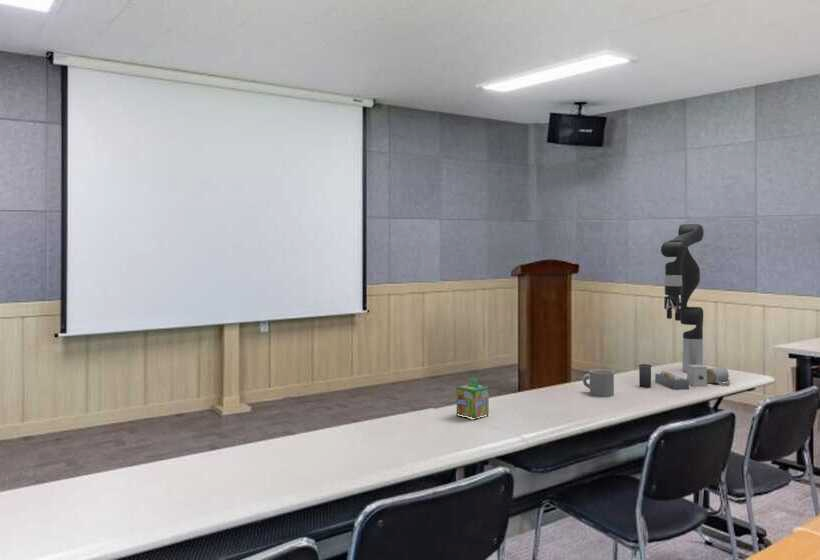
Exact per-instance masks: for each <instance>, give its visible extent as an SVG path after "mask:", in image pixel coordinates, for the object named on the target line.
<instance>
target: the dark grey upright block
mask: <svg viewBox="0 0 820 560" xmlns="http://www.w3.org/2000/svg"><path fill="white" fill-rule="evenodd" d="M638 368H639V370H638V374H639V375H638V378H639V380H638V381H639V385H638V386H639V388H641V387H643V388H642V389H651V388H652V365H651V364H645V363H643V364H642V363H641V364H638Z"/></svg>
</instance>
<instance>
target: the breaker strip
mask: <svg viewBox="0 0 820 560" xmlns="http://www.w3.org/2000/svg"><path fill="white" fill-rule="evenodd" d="M654 374H655V377H654V382H655V383H657V384H659V385H661V386H664V387H666V388H668V389H672V390H673V389H674V390H676V391H677V390H689V389H690V388H689V387H690V385H689V380H687V378H685V377H684V378H683V377H681V376H680V375H677V374H674V373H671V372H668V371H666V370H660V373H654Z"/></svg>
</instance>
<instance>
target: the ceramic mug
mask: <svg viewBox="0 0 820 560" xmlns="http://www.w3.org/2000/svg"><path fill="white" fill-rule="evenodd" d="M729 377H730V375H729V372H728V370H727V368H725V366H723V365H722V366H721V365H718V366H714V367H710V368H707V383H708V384H711V383H712V384H713V383H716V384H718V385H720V386H723V385H728V386H729V385H730V383H731V381H730V378H729ZM723 382H725V383H723ZM712 384H711V385H712Z"/></svg>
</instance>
